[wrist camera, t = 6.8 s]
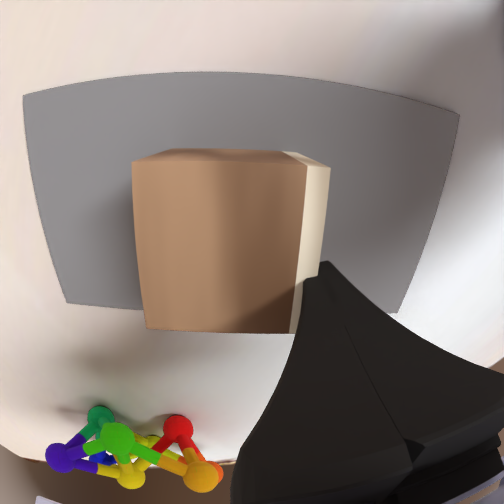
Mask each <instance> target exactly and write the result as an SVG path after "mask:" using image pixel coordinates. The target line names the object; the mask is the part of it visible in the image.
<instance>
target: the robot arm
mask: <svg viewBox="0 0 504 504" xmlns="http://www.w3.org/2000/svg"><path fill="white" fill-rule="evenodd" d="M502 428H504V374H502V373H499V372H496V371H493V370H491V369H488V368H485V367H482V366H479V365H476V364H474V363H471V362H469V361H467V360H464V359H462V358H460V357H458V356H455V355H453V354H451V353H449V352H447V351H445V350H443V349H441V348H439V347H438V346H436V345H434V344H432V343H430V342H429V341H427V340H425V339H423V338H421V337H420V336H418V335H416V334H415V333H413V332H412V331H410V330H409V329H407V328H406V327H404V326H403V325H401V324H400V323H398V322H397V321H396V320H394V319H393V318H392V317H390V316H389V315H388V314H386V313H385V312H384V311H383V310H381V309H380V308H379V307H378V306H376V305H375V304H374V303H373V302H372V301H371V300H369V299H368V298H367V297H366V296H365V295H364V294H363V293H362V292H361V291H359V290H358V289H357V288H356V287H355V286H354V285H353V284H352V283H351V282H350V281H349V280H348V279H347V278H346V277H345V276H344V275H343V274H342V273H341V272H340V271H339V270H338V269H337V268H336V267H335V266H334V265H333V264H332V263H331V262H330V261H328V260H327V261H322V262H319V269H318V275H317V276H315V277H310V278H306V279H305V280H304V281H303V293H302V302H301V310H300V316H299V321H298V325H297V330H296V334H295V338H294V341H293V345H292V348H291V351H290V354H289V357H288V360H287V363H286V365H285V368H284V370H283V373H282V375H281V378H280V380H279V382H278V384H277V387H276V389H275V391H274V393H273V395H272V397H271V398H270V400H269V402H268V404H267V406H266V408H265V410H264V412H263V414H262V415H261V417H260V419H259V420H258V422H257V424H256V425H255V427H254V428H253V430H252V431H251V433H250V434H249V436H248V437H247V439H246V440H245V442H244V443H243V445H242V446H241V448H240V451H239V454H238V457H237V461H236V464H235V467H234V471H233V475H232V480H231V489H230V497H231V500H230V501H231V504H456V503H458V502H460V501H462V500H464V499H466V498H468V497H470V496H472V495H474V494H475V493H477V492H479V491H481V490H483V489H485V488H486V487H488V486H490V485H491V484H493V483H495V482H497V481H498V480H500V479H501V478H502V479H501V481H500V484H499V487H498V488H497V489H496V490H494V491H493V492H491V493H489V494H487V495H486V496H484V497H482V498H480V499H478V500H476V501H475V502H473V503H471V504H504V456H503V457H501V456H500V454H499V451H498V449H497V447H499V446H500V445H501V441H500V438H499V436H498V433H499V432H500V431H501V430H502ZM35 504H60V503H58V502H55V501H52V500H49V499H46V498H43V497H41V496H37V498H36V503H35Z"/></svg>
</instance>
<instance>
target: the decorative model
mask: <svg viewBox="0 0 504 504" xmlns="http://www.w3.org/2000/svg"><path fill="white" fill-rule="evenodd" d="M87 418H88V424H87V425H86V426H85V427H84V428H83V429H82V430H81V431H80V432H79V433H78V434H76V435H75V436H74V437H73V438H72V439H71V440H70V441H69V442H68V443H67V444H65V445H64V444H62V443H54V444H51V445H49V446H48V448H47V449H46V453H45V457H46V461H47V463H48V464H49V465H50V467H51V468H52V469H54V470H55V471H57V472H62V473H67V472H70V471H72V469H73V468H77V469H80V470H84V471H88V472H91V473H95V474H99V475H104V476H108V477H113V478H116V479H117V481H118V482H119V483H120V484H121V485H122V486H123V487H125V488H128V489H136V488H139V487H140V486H142V485H143V484H144V481H145V474H144V470H146V469H147V468H148V467H149V466H150V465H151V464H154V465H157V466H159V467H161V468H163V469H166V470H168V471H170V472H173V473H176V474H178V475H180V476H183V480H184V483H185V484H186V485H187V487H189V488H190V489H192V490H193V491H196V492H208V491H210V490H212V489H213V488H214V487H215V486H216V485H217V483H219V482H220V481H221V480H222V477H223V470H222V468H221V466H220V465H219V464H217V463H216V462H213V461H206V460H205V458H204V457H203V455H202V454H201V452H200V451H199V450H198V448H197V447H196V445H195V444H194V442H193V441H192V439H191V437H192V435H193V426H192V423H191V422H190V421H189V420H188V419H187V418H186V417H183V416H179V415H175V416H171V417H169V418H168V419H167V420H166V421H165V423H164V426H163V431H164V434H165V435H164V436H163V437H162V438H160V437H157V436H148V437H146V438H144V437H142V436H140V435H138V434H136V433H134V432H133V431H131V429H130V428H129V427H128V426H126V425H124V424H122V423H118V422H115V418H114V416H113V414H112V412H111V411H110V410H109V409H107V408H106V407H102V406H96V407H93V408H92V409H91V410H90V411H89V413H88V417H87ZM95 433H96V440H93V441H90V442H87V441H88V440H89V439H90V438H91V437H92V436H93V435H94V434H95ZM86 442H87V443H86ZM173 442H174V443H178V444H179V447H180V449H181V451H182V454H183V456H184V457H183V456H181V455H179V454H176V453H174V452H172V451H170V450H168V449H167V448H168V447H169V446H170V445H171V444H172V443H173ZM106 450H107V451H108V452H110V453H112V454H113V455H108V454H107V453H106ZM87 456H90V457H89V461H88V460H84V459H81V458H84V457H87ZM137 457H138V458H137ZM134 458H137V460H136V461H135V462H134V463H132V462H131V459H134ZM116 463H117V464H118V465H116Z"/></svg>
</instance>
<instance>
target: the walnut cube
mask: <svg viewBox="0 0 504 504" xmlns="http://www.w3.org/2000/svg"><path fill="white" fill-rule="evenodd" d="M131 164H132V195H133V213H134V228H135V240H136V251H137V261H138V270H139V279H140V287H141V295H142V302H143V309H144V316H145V322H146V328H148V329H161V330H176V331H194V332H216V333H255V334H296V330H297V325H298V321H299V316H300V310H301V302H302V293H303V281H304V280H305V279H306V278H310V277H315V276H317V275H318V269H319V262H320V255H321V248H322V240H323V232H324V225H325V216H326V208H327V199H328V190H329V180H330V170H331V168H330V167H328V166H326V165H323V164H321V163H319V162H317V161H315V160H313V159H310V158H308V157H306V156H304V155H301V154H299V153H297V152H286V151H270V150H251V149H219V148H172V149H169V150H166V151H162V152H159V153H156V154H153V155H150V156H147V157H144V158H142V159H139V160H136V161H133V162H131Z"/></svg>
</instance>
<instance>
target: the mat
mask: <svg viewBox="0 0 504 504" xmlns="http://www.w3.org/2000/svg"><path fill="white" fill-rule="evenodd" d="M23 110H24V122H25V132H26V141H27V149H28V156H29V162H30V169H31V175H32V180H33V185H34V191H35V195H36V200H37V205H38V209H39V213H40V218H41V222H42V226H43V230H44V233H45V237H46V241H47V244H48V248H49V251H50V255H51V258H52V261H53V264H54V267H55V271H56V274H57V277H58V280H59V282H60V285H61V288H62V291H63V294H64V297H65V299H66V302H67V303H71V304H80V305H89V306H99V307H110V308H122V309H134V310H144V309H143V302H142V295H141V287H140V279H139V270H138V261H137V251H136V240H135V228H134V213H133V195H132V164H131V162H133V161H136V160H139V159H142V158H144V157H147V156H150V155H153V154H156V153H159V152H162V151H166V150H169V149H172V148H219V149H251V150H270V151H286V152H297V153H299V154H301V155H304V156H306V157H308V158H310V159H313V160H315V161H317V162H319V163H321V164H323V165H326V166H328V167H330V168H331V170H330V180H329V190H328V199H327V208H326V216H325V225H324V232H323V240H322V248H321V255H320V262H322V261H327V260H328V261H330V262H331V263H332V264H333V265H334V266H335V267H336V268H337V269H338V270H339V271H340V272H341V273H342V274H343V275H344V276H345V277H346V278H347V279H348V280H349V281H350V282H351V283H352V284H353V285H354V286H355V287H356V288H357V289H358V290H359V291H361V292H362V293H363V294H364V295H365V296H366V297H367V298H368V299H369V300H371V301H372V302H373V303H374V304H375V305H376V306H378V307H379V308H380V309H381V310H383V311H384V312H385V313H398V310H399V308H400V306H401V304H402V301H403V299H404V297H405V294H406V292H407V290H408V287H409V285H410V283H411V280H412V278H413V275H414V273H415V270H416V268H417V265H418V262H419V260H420V257H421V255H422V252H423V249H424V246H425V244H426V241H427V238H428V235H429V232H430V229H431V226H432V223H433V220H434V217H435V214H436V211H437V207H438V204H439V201H440V197H441V194H442V190H443V187H444V183H445V179H446V176H447V172H448V168H449V164H450V160H451V155H452V151H453V147H454V142H455V137H456V132H457V127H458V122H459V116H460V115H459V114H456V113H453V112H450V111H448V110H445V109H442V108H438V107H435V106H432V105H429V104H426V103H422V102H419V101H415V100H412V99H408V98H405V97H401V96H397V95H393V94H389V93H385V92H380V91H376V90H372V89H367V88H362V87H357V86H352V85H347V84H341V83H335V82H329V81H323V80H316V79H309V78H301V77H292V76H283V75H272V74H258V73H240V72H174V73H156V74H143V75H132V76H123V77H114V78H107V79H100V80H93V81H87V82H81V83H75V84H70V85H65V86H60V87H55V88H51V89H46V90H42V91H38V92H34V93H30V94H26V95H23Z"/></svg>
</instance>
